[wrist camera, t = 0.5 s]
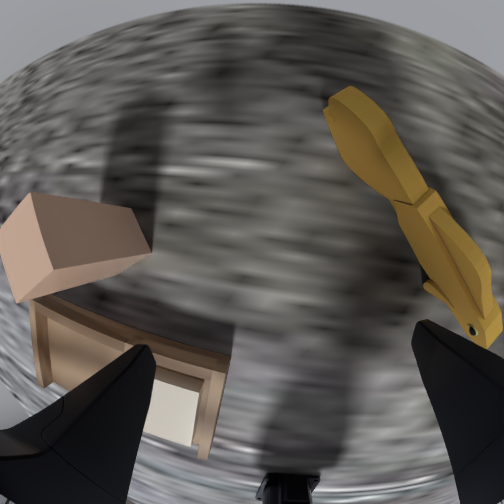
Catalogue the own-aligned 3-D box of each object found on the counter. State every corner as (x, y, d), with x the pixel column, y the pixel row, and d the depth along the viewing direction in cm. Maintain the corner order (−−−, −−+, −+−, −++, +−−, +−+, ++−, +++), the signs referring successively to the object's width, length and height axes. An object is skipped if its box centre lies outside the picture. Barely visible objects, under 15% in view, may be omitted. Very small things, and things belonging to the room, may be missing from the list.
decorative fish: (470, 319, 19) (534, 331, 10) (450, 340, 20) (511, 364, 10) (340, 140, 24) (350, 72, 14) (316, 157, 24) (317, 90, 15)
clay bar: (151, 252, 22) (53, 270, 10) (115, 275, 22) (16, 303, 10) (131, 208, 22) (30, 191, 10) (97, 232, 22) (-4, 234, 10)
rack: (212, 440, 23) (207, 460, 20) (53, 374, 24) (38, 384, 21) (231, 356, 22) (225, 373, 19) (48, 292, 23) (29, 298, 20)
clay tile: (195, 434, 22) (190, 446, 20) (148, 419, 22) (141, 430, 20) (204, 381, 21) (199, 392, 19) (150, 364, 21) (142, 374, 19)
